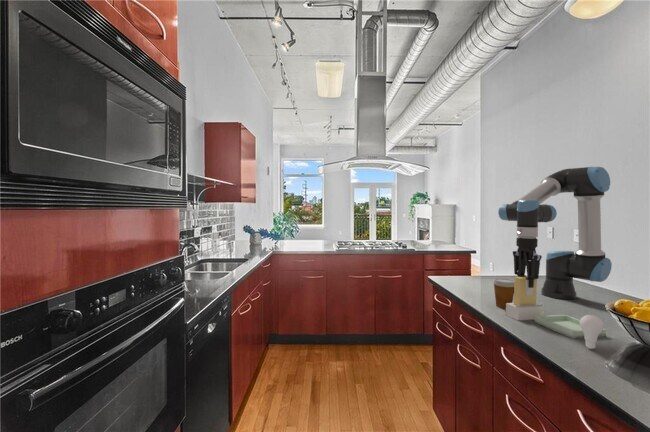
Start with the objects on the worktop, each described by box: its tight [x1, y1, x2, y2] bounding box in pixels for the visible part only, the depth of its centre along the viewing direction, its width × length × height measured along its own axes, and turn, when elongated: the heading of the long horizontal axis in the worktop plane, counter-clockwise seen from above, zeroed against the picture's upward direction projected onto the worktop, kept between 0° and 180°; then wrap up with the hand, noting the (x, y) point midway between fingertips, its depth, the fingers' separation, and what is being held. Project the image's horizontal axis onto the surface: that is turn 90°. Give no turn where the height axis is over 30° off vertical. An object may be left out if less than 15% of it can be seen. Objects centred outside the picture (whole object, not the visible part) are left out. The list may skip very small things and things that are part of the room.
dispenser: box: [505, 302, 545, 321], centre depth 145 cm, size 12×7×6 cm, turn 101°
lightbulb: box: [579, 314, 604, 350], centre depth 113 cm, size 6×6×11 cm
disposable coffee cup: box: [492, 277, 514, 309], centre depth 160 cm, size 10×10×12 cm
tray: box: [534, 314, 607, 339], centre depth 132 cm, size 14×17×2 cm
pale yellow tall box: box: [513, 276, 538, 306], centre depth 145 cm, size 8×3×13 cm, turn 101°
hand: (525, 293), depth 145 cm, fingers closed on pale yellow tall box, 3 cm apart
